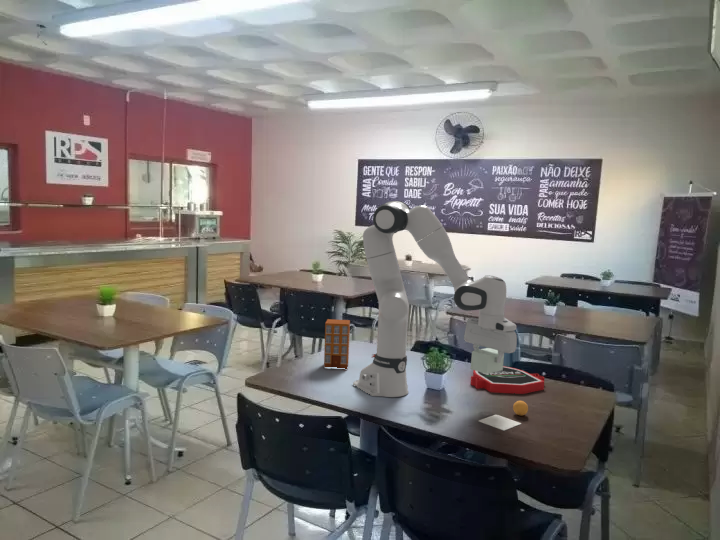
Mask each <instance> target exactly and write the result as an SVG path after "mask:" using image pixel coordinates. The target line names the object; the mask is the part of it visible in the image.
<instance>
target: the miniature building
mask: <svg viewBox="0 0 720 540" xmlns="http://www.w3.org/2000/svg"><path fill="white" fill-rule="evenodd" d="M324 324H325V325H324V354H323V355H324V356H323V368H324V367H337V368H345V369H347V370H348V368H347V367H349V356H350V355H349V354H350V332H351V331H350V330H351V329H350V328H351V320H349V319H329V318H327V319H326V321H325V323H324Z"/></svg>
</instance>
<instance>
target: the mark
mask: <svg viewBox="0 0 720 540" xmlns="http://www.w3.org/2000/svg"><path fill="white" fill-rule="evenodd" d="M478 422H479V423H481V424H484V425H487V426H491V427H493V428H496V429H498V430H501V431H503V432H504V431H507V430H510V429H512V428H514V427H517V426H518V427H519V426H520V425H522V423H521V422H519V421H515V420H512V419H511V418H507V417H505V416H501V415H499V414H493V415H490V416H488V417H485V418H481V419H479V420H478Z"/></svg>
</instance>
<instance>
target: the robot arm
mask: <svg viewBox="0 0 720 540" xmlns="http://www.w3.org/2000/svg"><path fill="white" fill-rule="evenodd" d="M372 223H373V224H372V225H370V226H368V227H367V228H366V229H364V231H363V233H362V242H363V243H362V244H363V248H364V250H363V251H364V254H365V259H366V262H367V265H368V270H369V275H370V277H371V280H372V284H373V287H374V290H375V294H376V297H377V302H378V317H377V336H376V337H377V338H376V339H377V341H376V353H375V354H373V353H372V355H371V358H372V362H371V363H370V364H368V365H367V366H365V367H364V368H362V369H361V371H360V373H359V379H358V380H357V379H356V380H354V382H352V385H353V386H354V385H355V386H357V387H358V388H357V387H356V388H357V389H359V388H360V389H361V390H360V389H359V390H360V391H362V390H363V391H362V392H364V391H365V392H364V393H366V394H367V393H368V395H369V394H370V395H369V396H371V397H387V398H398V397H403V396H406V395H408V394H409V389H408V387H409V385H408V380H407V378H408V377H407V363H408V356H407V339H408V329H409V327H408V326H409V315H410V303H409V299H408V296H407V291H406V288H405V285H404V281H403V277H402V273H401V269H400V265H399V264H400V263H399V261H398V257H397V254H396V249H395V246H394V241H393V238H394V235H395V234H397V233H398V232H402V231H404V230H405V231H407V232H408V233H410V235H411V236H412V237H413V239H414V241H415V242H416V244H417V245H418V247H419V249H420V250H421V252H423V253H424V255H425V256H426V257H427V258H428V259H430V260H432V261H434V262H435V263H436V264H438V265H439V266H440V267H441V268H442V269H443V272H444V273H445V274H446V276H447V278H448V280H449V281H450V282H451V284H452V286H453V290H454V291H453V292H454V295H453V300H454V304H455V305H456V306H457V307H458V309H460V310H463V311H465V312H468V311H469V312H471V311H478V312H479V313H478V317H477V318H476V317H469V318H467V320H466V323H465V324H466V326H465V329H464V334H463V335H464V336H463V340H464V341H465V342H466V343H469V344H472V347H473V351H475V350H480V348H479V347H484V348H491V349H494V350H498V354H499V355H498V356H497V357H495V360H494V362H496V363H500V362H501V358H502V356H503V355H504V356H505V353H506V354H513V353H515V352H516V350H517V343H518V341H517V339H518V336H517V333H516V332H515V331H516V330H517V325H516V323H514V322H513V321H511V320H509V319H508V318H506V317H505V305H506V302H507V285H506V282H505V281H504V279H502V278H501V277H497V276H494V275H484V276H482V277H481V278H479V279H477V280H473V279H472V278H471V277H469V276H468V275H467V273H466V271H465V270H464V268H463V266H462V264H461V263H460V262H459V260H458V259H457V256H456V255H455V252H454V249H453V245H452V243H451V242H452V241H451V240H450V239H451V238H450V237H449V235H448V233H447V231H446V229H445V227H444V226H443V224H442V223H441V221H440V219H439V218H438V217H437V215H436V214H435V213H434V212H433V211H432V210H431V209H430V208H429V207H428V206H427V205H417V206H414V207H413V208H410V206H409V205H408V204H407V202H404V201H401V200H392V201H387V202H386V203H383V204H380V205H379V206H377V208H376V209H375V210H374V213H373V216H372ZM355 386H354V387H355Z"/></svg>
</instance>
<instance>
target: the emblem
mask: <svg viewBox="0 0 720 540" xmlns="http://www.w3.org/2000/svg"><path fill="white" fill-rule="evenodd" d="M472 373H473V374H472V375H471V376H470V385H471V386H473V387H474V388H475V389H477V390H479V389H480V388H481V389H485V390H486V391H488V392H489V393H497V394H498V393H500V394H514V393H515V395H516V394H517V395H524V394H528V393H532V392H533V393H534V392H538V391H539V392H540V391H543V390H545V377H544V376H542V375H540V374H539V373H529V372H527V371H525V370H522V369H518V368H515V367H509V366H505V365H503V370H501V371H497V372H493V373H489V374H485V373H482V372H478V371H475V370H473V371H472Z"/></svg>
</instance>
